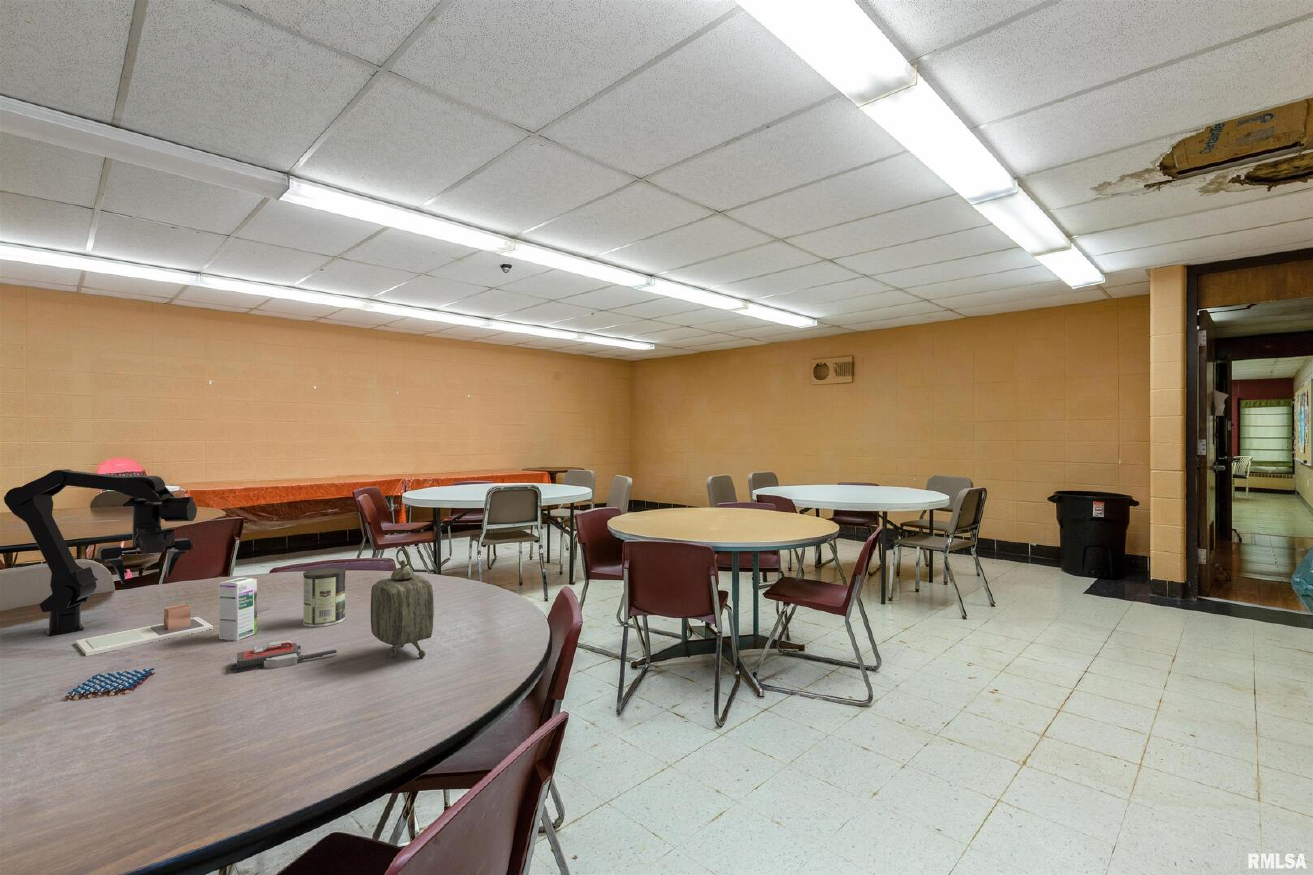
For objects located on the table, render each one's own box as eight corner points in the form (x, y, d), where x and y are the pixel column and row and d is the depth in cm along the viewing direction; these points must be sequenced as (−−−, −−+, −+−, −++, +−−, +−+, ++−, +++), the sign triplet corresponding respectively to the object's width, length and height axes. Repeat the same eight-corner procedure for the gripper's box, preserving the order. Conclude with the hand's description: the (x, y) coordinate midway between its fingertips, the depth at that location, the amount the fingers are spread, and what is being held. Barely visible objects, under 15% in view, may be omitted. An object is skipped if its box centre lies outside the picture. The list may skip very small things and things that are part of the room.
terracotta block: (163, 626, 149) (164, 607, 149) (185, 622, 153) (185, 603, 153) (168, 630, 147) (168, 610, 147) (190, 625, 150) (190, 606, 150)
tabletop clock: (433, 657, 132) (434, 550, 133) (393, 668, 126) (394, 555, 126) (406, 642, 142) (407, 542, 142) (368, 651, 136) (369, 546, 136)
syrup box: (237, 641, 142) (237, 583, 142) (217, 639, 143) (218, 581, 143) (257, 633, 148) (258, 577, 148) (238, 632, 149) (239, 576, 149)
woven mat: (93, 682, 119) (93, 672, 119) (156, 675, 122) (156, 666, 122) (61, 704, 109) (61, 693, 109) (131, 696, 112) (131, 686, 112)
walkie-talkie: (229, 679, 121) (337, 658, 133) (230, 658, 121) (337, 639, 133) (230, 665, 128) (332, 647, 140) (230, 646, 128) (332, 629, 140)
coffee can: (333, 613, 165) (333, 564, 165) (352, 619, 160) (353, 569, 160) (295, 622, 157) (295, 571, 157) (314, 629, 151) (315, 576, 151)
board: (75, 643, 139) (75, 639, 139) (197, 619, 158) (197, 616, 158) (86, 656, 131) (86, 651, 131) (213, 629, 151) (213, 625, 151)
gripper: (106, 529, 142) (105, 592, 142) (199, 521, 157) (198, 578, 156) (96, 525, 148) (95, 585, 148) (187, 517, 163) (186, 572, 163)
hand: (146, 580), depth 154 cm, fingers open, 9 cm apart
